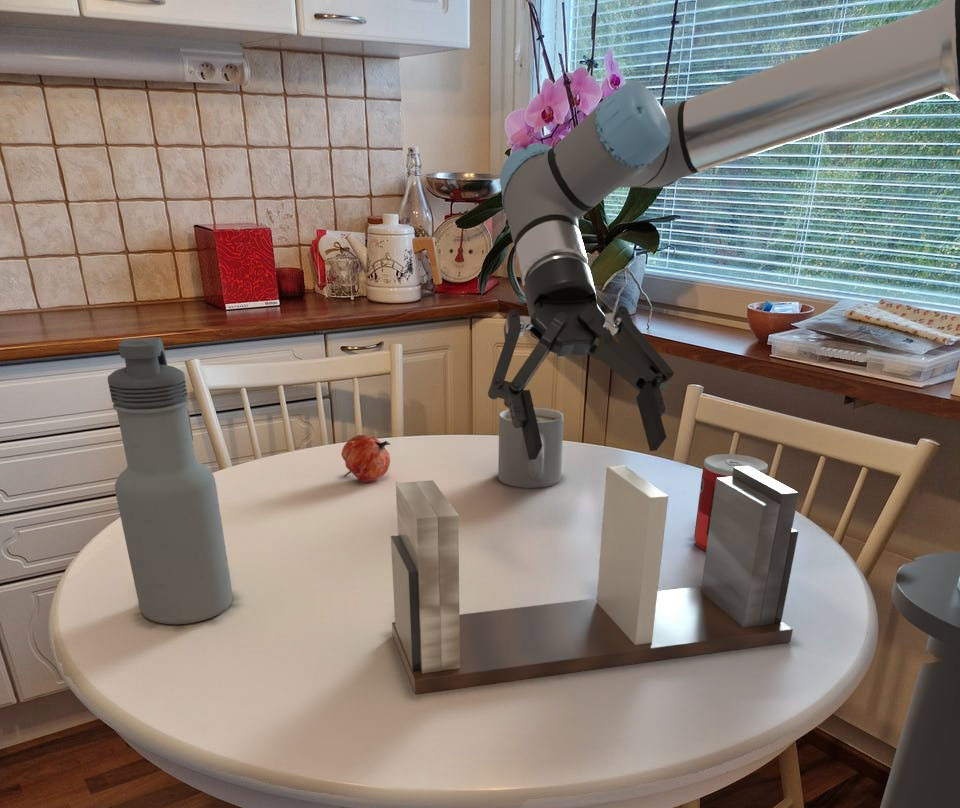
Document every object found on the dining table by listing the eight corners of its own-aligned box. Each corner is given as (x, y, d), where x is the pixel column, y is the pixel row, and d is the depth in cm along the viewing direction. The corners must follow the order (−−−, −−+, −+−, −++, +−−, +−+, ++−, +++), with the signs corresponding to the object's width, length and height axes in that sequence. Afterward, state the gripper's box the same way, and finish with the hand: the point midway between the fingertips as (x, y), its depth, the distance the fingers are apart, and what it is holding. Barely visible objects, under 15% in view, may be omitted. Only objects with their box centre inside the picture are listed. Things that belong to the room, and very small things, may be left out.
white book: (611, 600, 91) (623, 464, 84) (652, 643, 83) (668, 495, 76) (596, 602, 91) (606, 466, 84) (635, 645, 83) (650, 497, 75)
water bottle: (144, 592, 97) (91, 334, 83) (233, 583, 99) (195, 330, 86) (137, 632, 88) (77, 351, 75) (234, 621, 90) (192, 346, 77)
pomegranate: (340, 499, 132) (382, 467, 126) (318, 457, 132) (358, 424, 126) (370, 491, 138) (410, 461, 132) (348, 451, 138) (388, 419, 132)
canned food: (726, 531, 114) (738, 450, 109) (767, 551, 108) (782, 467, 103) (680, 539, 111) (690, 457, 106) (720, 561, 105) (732, 475, 100)
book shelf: (730, 594, 97) (752, 451, 89) (790, 642, 86) (821, 485, 79) (392, 635, 87) (384, 480, 80) (415, 694, 77) (408, 523, 69)
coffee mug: (501, 467, 140) (502, 406, 135) (561, 470, 139) (564, 408, 134) (492, 493, 128) (493, 427, 123) (558, 496, 127) (561, 429, 122)
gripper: (647, 298, 100) (692, 458, 94) (440, 304, 94) (475, 475, 88) (672, 251, 93) (722, 421, 87) (451, 255, 87) (489, 437, 81)
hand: (598, 449), depth 88 cm, fingers open, 13 cm apart
